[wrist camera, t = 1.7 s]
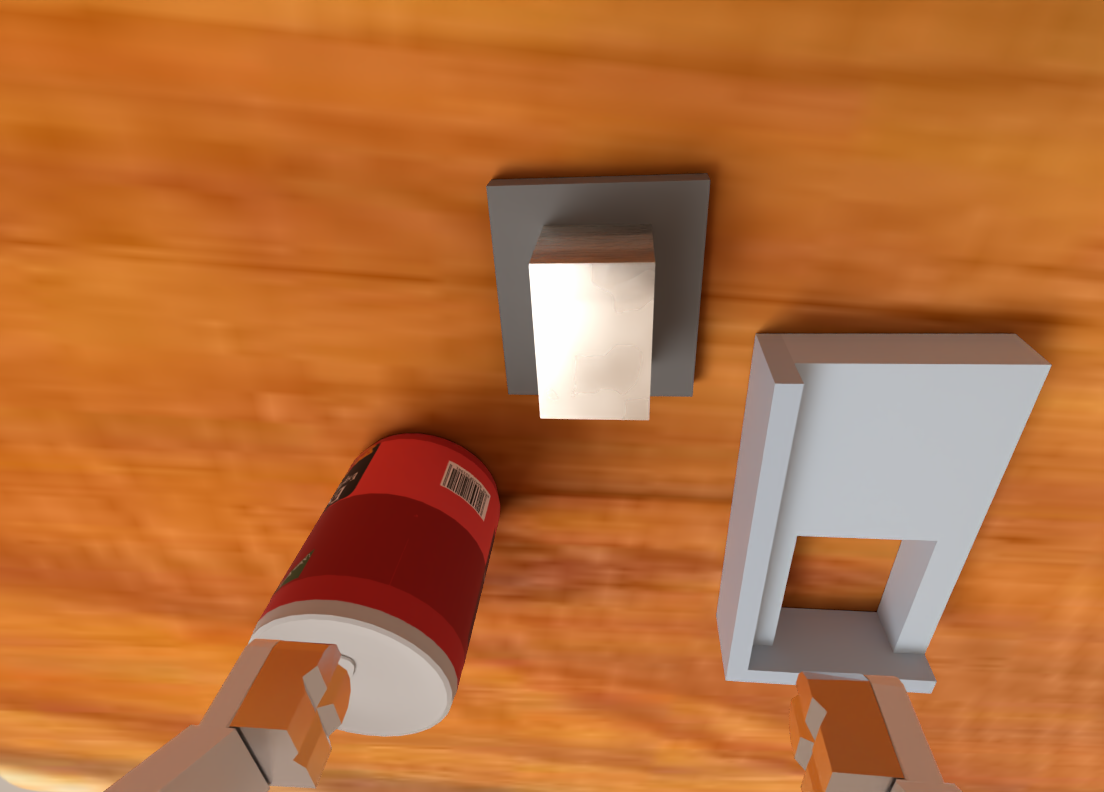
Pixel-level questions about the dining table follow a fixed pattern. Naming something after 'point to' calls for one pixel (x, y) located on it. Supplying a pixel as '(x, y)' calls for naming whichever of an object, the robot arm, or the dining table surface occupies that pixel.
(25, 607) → the dining table surface
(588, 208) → the pad
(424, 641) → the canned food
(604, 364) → the white boxy piece
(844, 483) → the grey slotted tray
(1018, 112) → the dining table surface
